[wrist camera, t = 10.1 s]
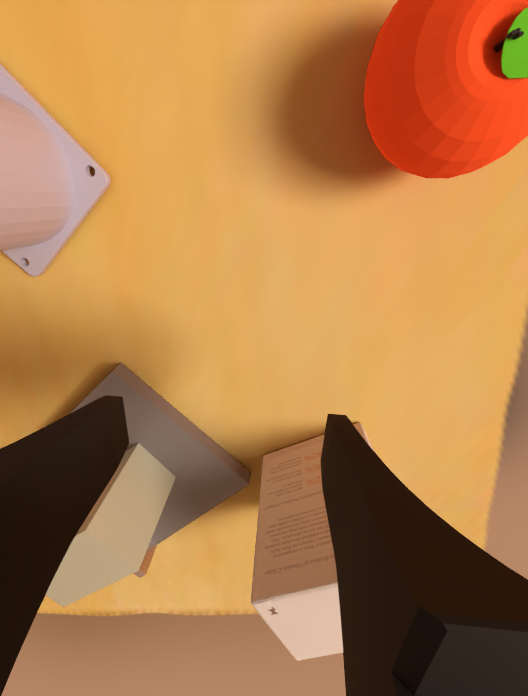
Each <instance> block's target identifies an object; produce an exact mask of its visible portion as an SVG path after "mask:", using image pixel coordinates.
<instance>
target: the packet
mask: <svg viewBox="0 0 528 696" xmlns="http://www.w3.org/2000/svg"><path fill="white" fill-rule="evenodd" d="M175 478H176V477H175V476H174V475H173V474H172V473H171V472H170V471H169V470H168V469H167V468H165V467H164V466H163V465H162V464H161V463H160V462H159V461H158V460H157V459H156V458H155V457H153V456H152V455H151V454H150V453H149V452H148V451H147V450H146V449H145V448H144V447H143V446H141V445H140V444H139V443H138V444H136V445H135V446H133V447H132V448H130V449H128V450H127V451H125V454H124V456H123V458H122V460H121V462H120V464H119V466H118V469H117V470H116V472H115V474H114V475H113V477H112V478H111V480H110V482H109V483H108V485H107V486H106V488H105V490H104V491H103V493H102V494H101V496H100V497H99V499H98V501H97V502H96V504H95V505H94V507H93V508H92V510H91V512H90V513H89V515H88V516H87V518H86V519H85V521H84V523H83V524H82V526H81V527H80V529H79V531H78V532H77V534H76V536H75V538H74V539H73V541H72V543H71V545H70V547H69V548H68V550H67V552H66V554H65V556H64V558H63V560H62V562H61V564H60V566H59V568H58V570H57V572H56V574H55V576H54V578H53V580H52V582H51V584H50V586H49V588H48V590H47V593H46V596H47V597H49V598H50V599H52V600H53V601H55V602H57V603H58V604H60V605H61V606H63V607H65V606H67V605H69V604H71V603H73V602H75V601H77V600H79V599H81V598H83V597H85V596H87V595H89V594H92V593H94V592H96V591H98V590H100V589H102V588H104V587H106V586H108V585H110V584H112V583H114V582H116V581H118V580H120V579H122V578H125V577H127V576H129V575H131V574H133V573H135V572H137V571H139V568H140V566H141V563H142V561H143V558H144V556H145V553H146V551H147V548H148V546H149V543H150V541H151V538H152V536H153V533H154V531H155V528H156V526H157V523H158V521H159V518H160V516H161V513H162V511H163V508H164V506H165V503H166V501H167V498H168V496H169V493H170V491H171V488H172V485H173V483H174V480H175Z"/></svg>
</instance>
